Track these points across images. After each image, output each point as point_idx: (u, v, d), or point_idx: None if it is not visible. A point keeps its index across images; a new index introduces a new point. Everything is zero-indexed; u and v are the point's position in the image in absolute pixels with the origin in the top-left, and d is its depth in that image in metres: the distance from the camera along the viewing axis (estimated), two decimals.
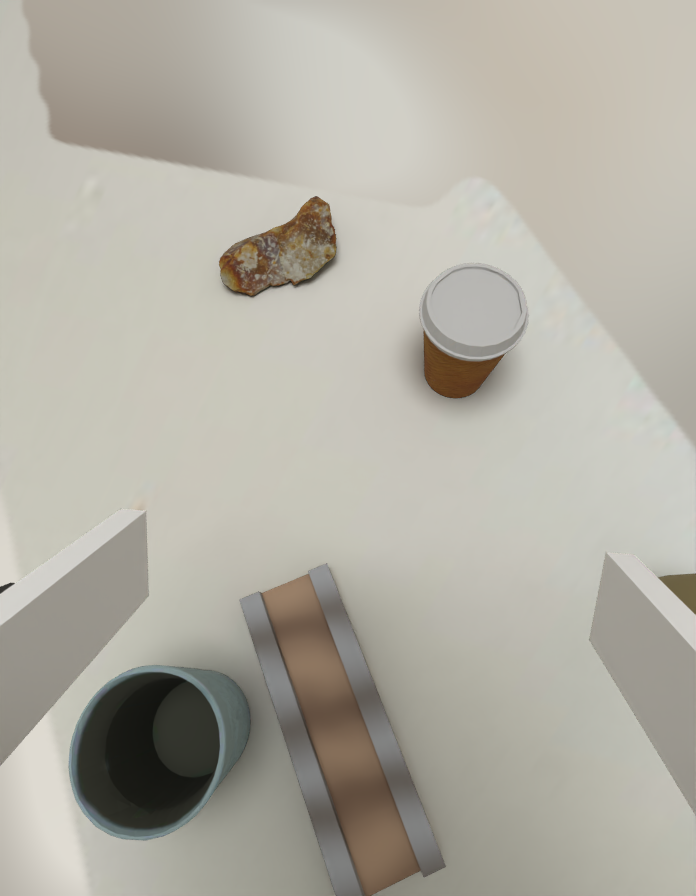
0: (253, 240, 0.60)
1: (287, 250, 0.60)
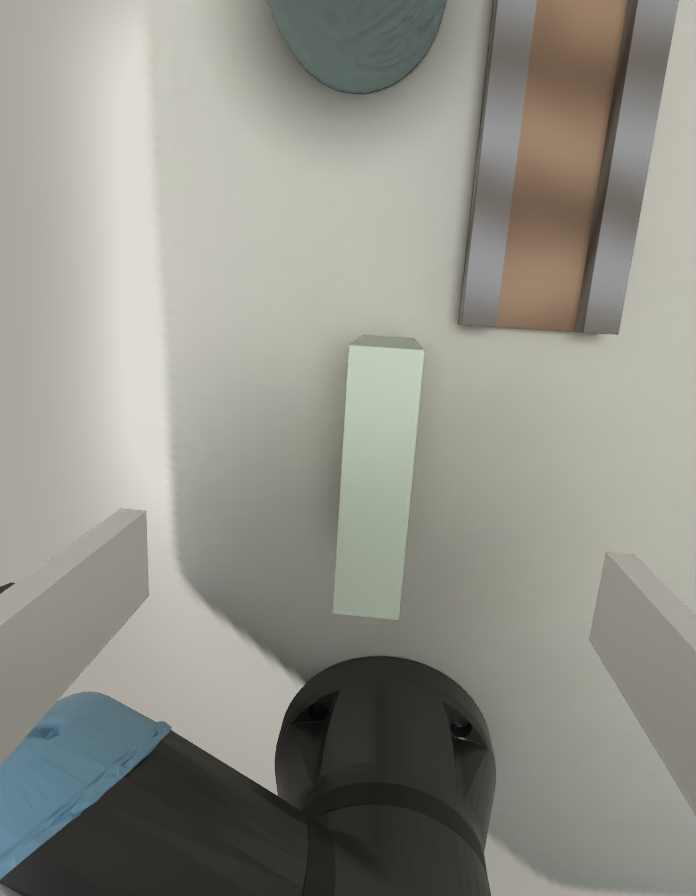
0: None
1: None
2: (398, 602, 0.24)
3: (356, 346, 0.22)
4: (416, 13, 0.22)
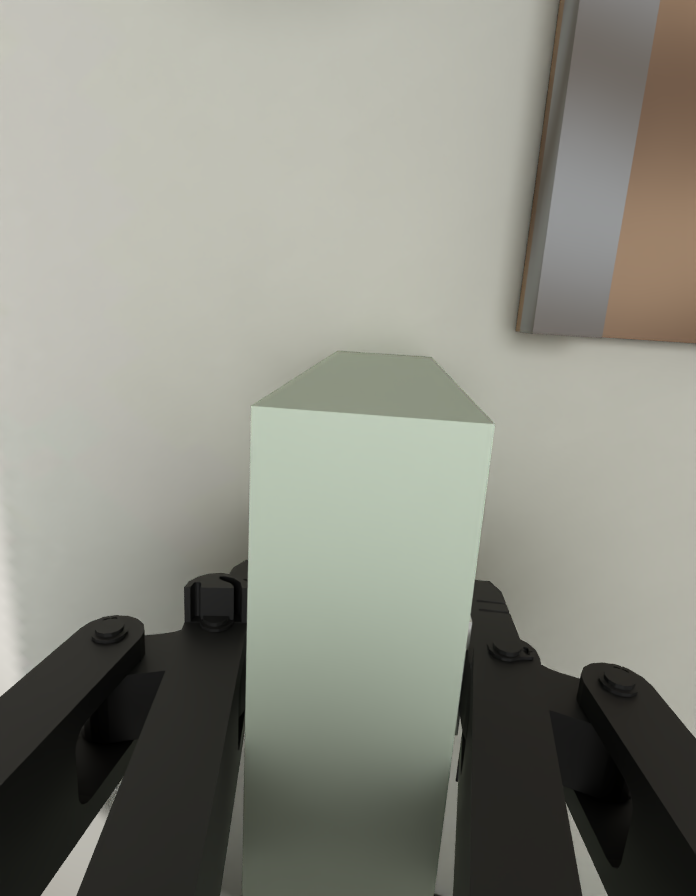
0: None
1: None
2: None
3: (275, 409, 0.07)
4: None
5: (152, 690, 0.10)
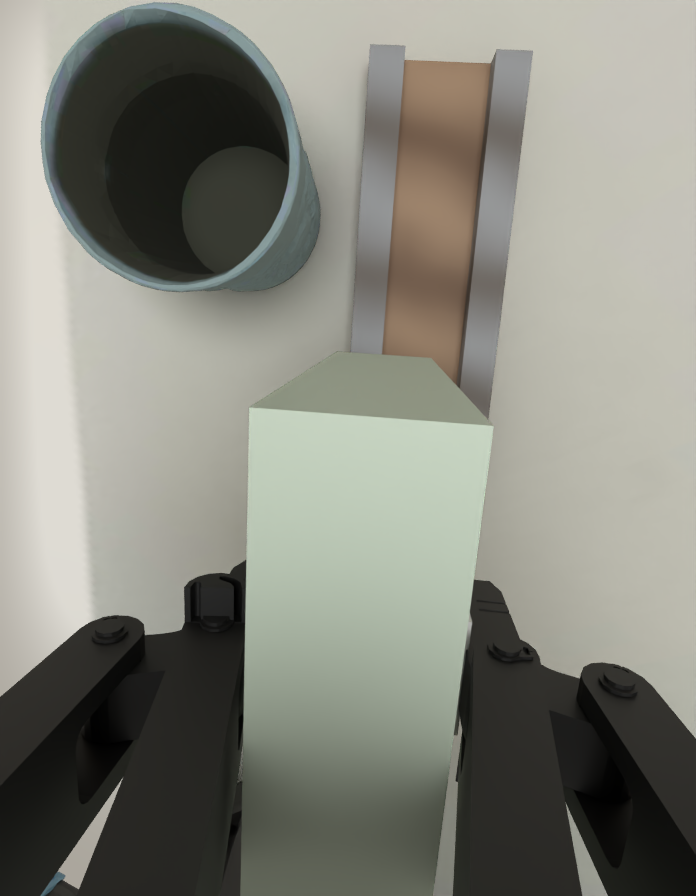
0: None
1: None
2: None
3: (273, 411, 0.07)
4: (273, 268, 0.26)
5: (151, 691, 0.10)
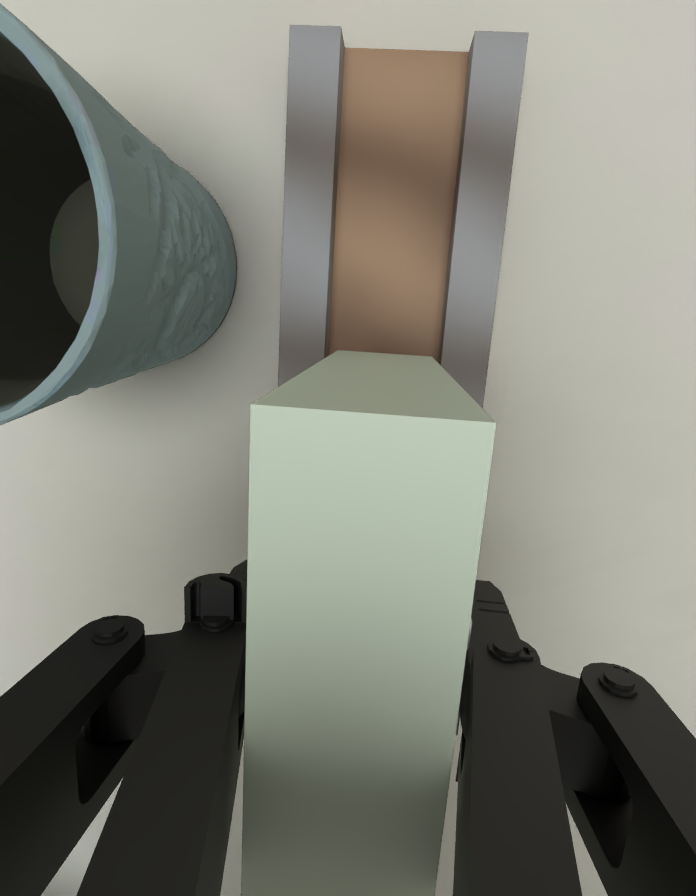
0: None
1: None
2: None
3: (274, 408, 0.07)
4: (140, 361, 0.18)
5: (151, 691, 0.10)
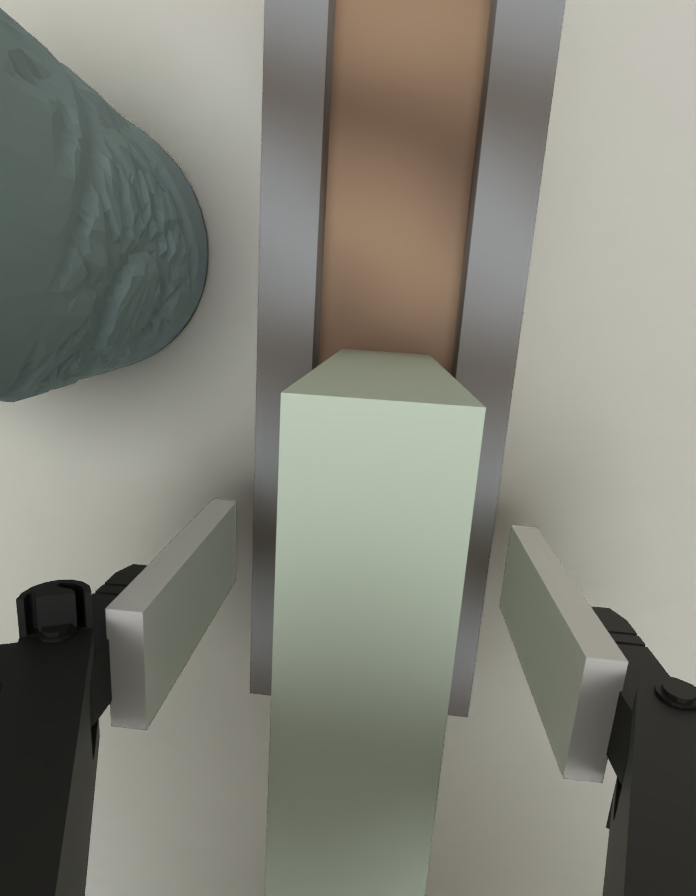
0: None
1: None
2: None
3: (301, 395, 0.08)
4: (73, 367, 0.14)
5: None
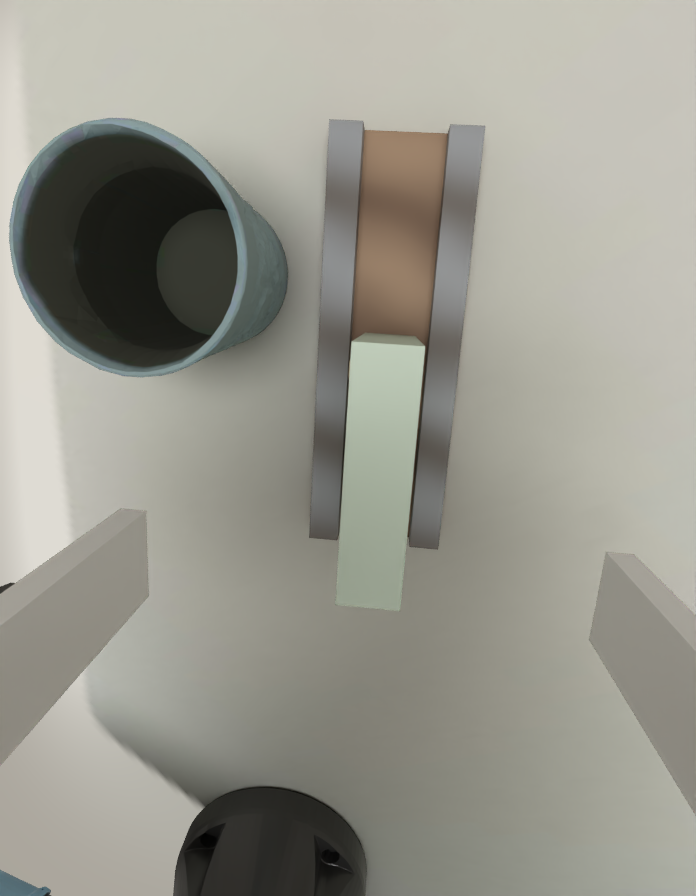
0: None
1: None
2: (399, 594, 0.25)
3: (358, 342, 0.22)
4: (235, 339, 0.28)
5: None
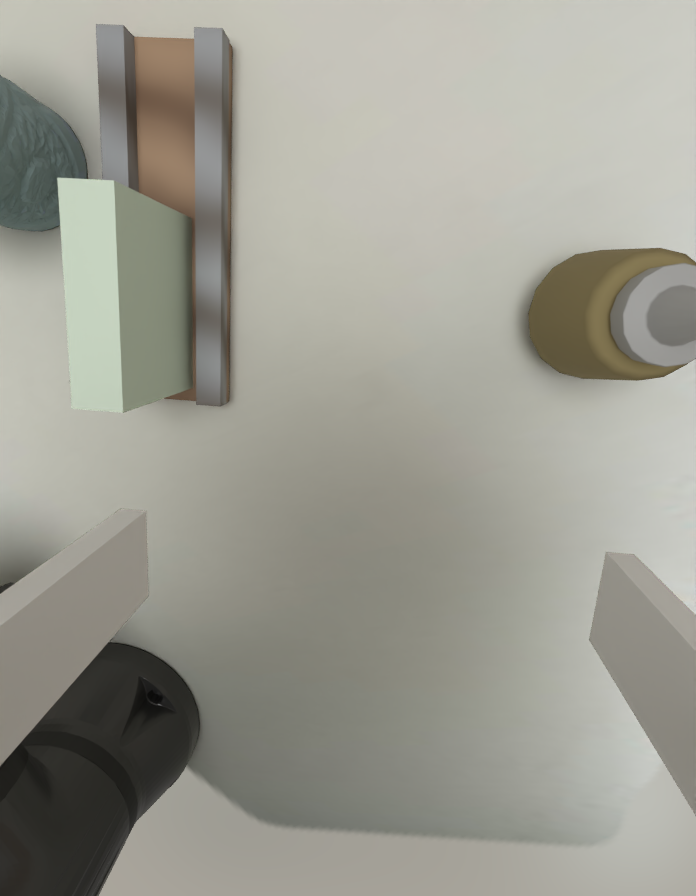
0: None
1: None
2: (120, 397, 0.30)
3: (63, 178, 0.28)
4: (11, 204, 0.33)
5: None
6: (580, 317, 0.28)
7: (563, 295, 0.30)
